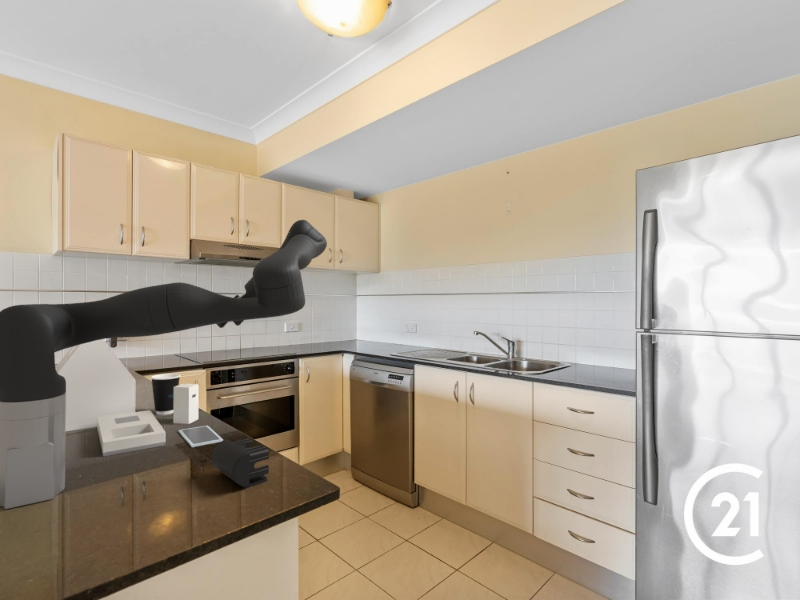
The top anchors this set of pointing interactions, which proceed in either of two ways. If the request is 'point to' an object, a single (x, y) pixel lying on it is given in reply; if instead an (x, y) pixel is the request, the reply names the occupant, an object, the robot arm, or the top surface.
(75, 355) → the milk carton
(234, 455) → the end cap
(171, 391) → the dixie cup
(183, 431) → the phone
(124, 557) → the top surface
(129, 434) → the outlet strip
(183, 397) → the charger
